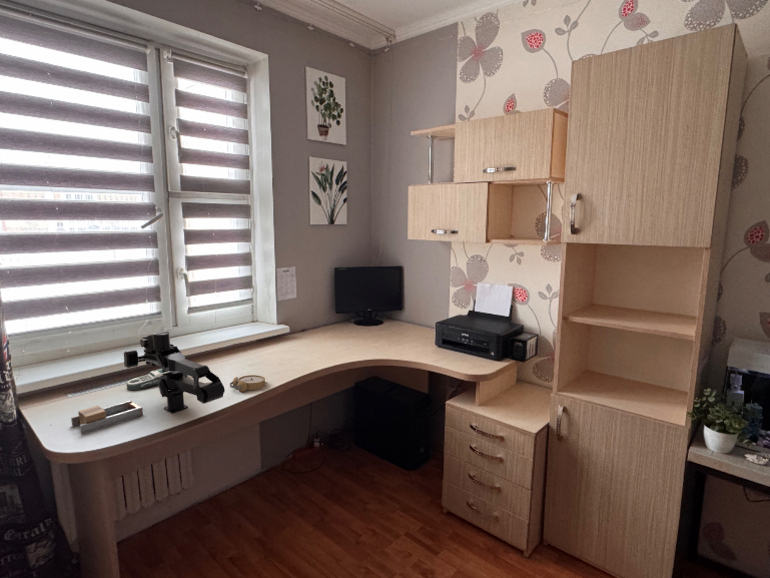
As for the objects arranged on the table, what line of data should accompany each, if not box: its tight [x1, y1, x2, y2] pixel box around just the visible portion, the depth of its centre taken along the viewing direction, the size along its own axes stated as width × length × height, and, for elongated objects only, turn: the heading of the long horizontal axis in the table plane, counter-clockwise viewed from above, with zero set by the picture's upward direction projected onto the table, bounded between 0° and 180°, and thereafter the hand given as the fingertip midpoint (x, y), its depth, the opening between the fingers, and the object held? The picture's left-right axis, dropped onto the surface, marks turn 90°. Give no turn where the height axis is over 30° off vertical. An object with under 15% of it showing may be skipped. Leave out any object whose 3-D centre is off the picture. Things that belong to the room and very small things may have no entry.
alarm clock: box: [229, 374, 268, 393], centre depth 193 cm, size 11×5×15 cm
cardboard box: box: [77, 405, 107, 426], centre depth 158 cm, size 7×6×5 cm
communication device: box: [126, 368, 188, 391], centre depth 199 cm, size 12×24×9 cm, turn 135°
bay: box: [70, 399, 144, 435], centre depth 162 cm, size 10×20×3 cm, turn 140°
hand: (140, 352), depth 184 cm, fingers open, 9 cm apart
